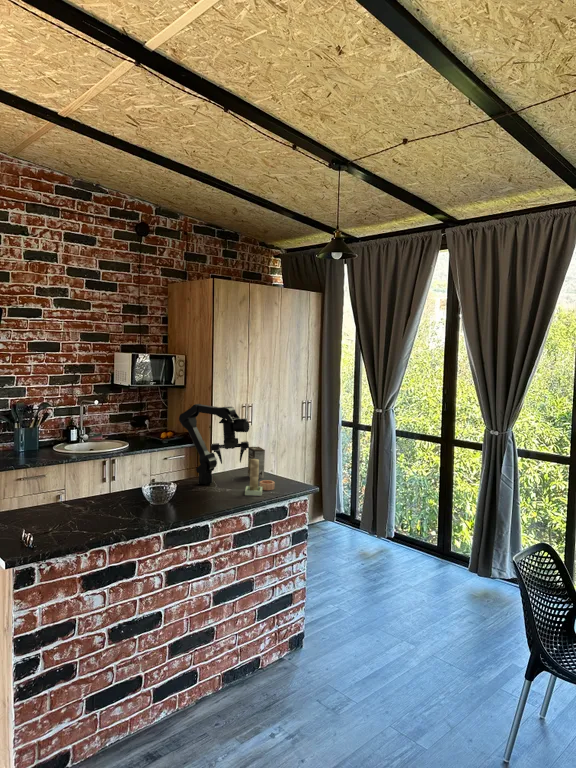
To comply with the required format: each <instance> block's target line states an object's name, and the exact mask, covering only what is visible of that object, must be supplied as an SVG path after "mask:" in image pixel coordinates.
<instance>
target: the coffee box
mask: <svg viewBox="0 0 576 768" xmlns="http://www.w3.org/2000/svg"><path fill="white" fill-rule="evenodd" d="M247 449H248V451H247V454H248V455H247V476H248V477H249V478H250V465H251V459H258V460H259V474H258V480H259V479H264V477H265V460H266V459H265V456H266V449H264V448H262V447H260V446H249V448H247Z"/></svg>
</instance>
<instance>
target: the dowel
mask: <svg viewBox="0 0 576 768" xmlns="http://www.w3.org/2000/svg"><path fill="white" fill-rule="evenodd" d="M258 474H259V460H258V459H251V465H250V477H249V486H250V490H255V491H258V487H259V479H258Z"/></svg>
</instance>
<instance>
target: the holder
mask: <svg viewBox="0 0 576 768" xmlns="http://www.w3.org/2000/svg"><path fill="white" fill-rule="evenodd" d="M275 485H276V483H275V481H273V480H270V479H264V480H260V481H259V483H258V487H263V489H262V491H273V490H275Z"/></svg>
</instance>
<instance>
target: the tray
mask: <svg viewBox="0 0 576 768" xmlns="http://www.w3.org/2000/svg"><path fill="white" fill-rule="evenodd" d="M262 489H263V487H259V486H258V491H255V490H250V485H246V486H245V490H244V496H256V497H258V496H260V497H262V495H263V490H262Z"/></svg>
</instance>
